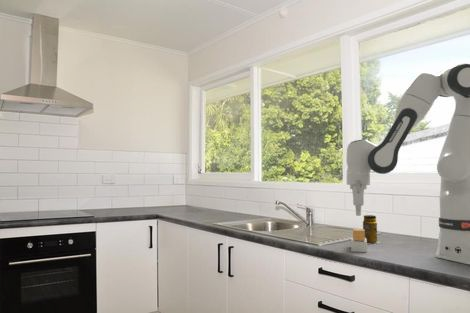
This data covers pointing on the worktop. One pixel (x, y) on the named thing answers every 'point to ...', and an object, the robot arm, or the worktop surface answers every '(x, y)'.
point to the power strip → (358, 245)
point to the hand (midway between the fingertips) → (358, 215)
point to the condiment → (370, 228)
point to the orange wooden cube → (359, 234)
